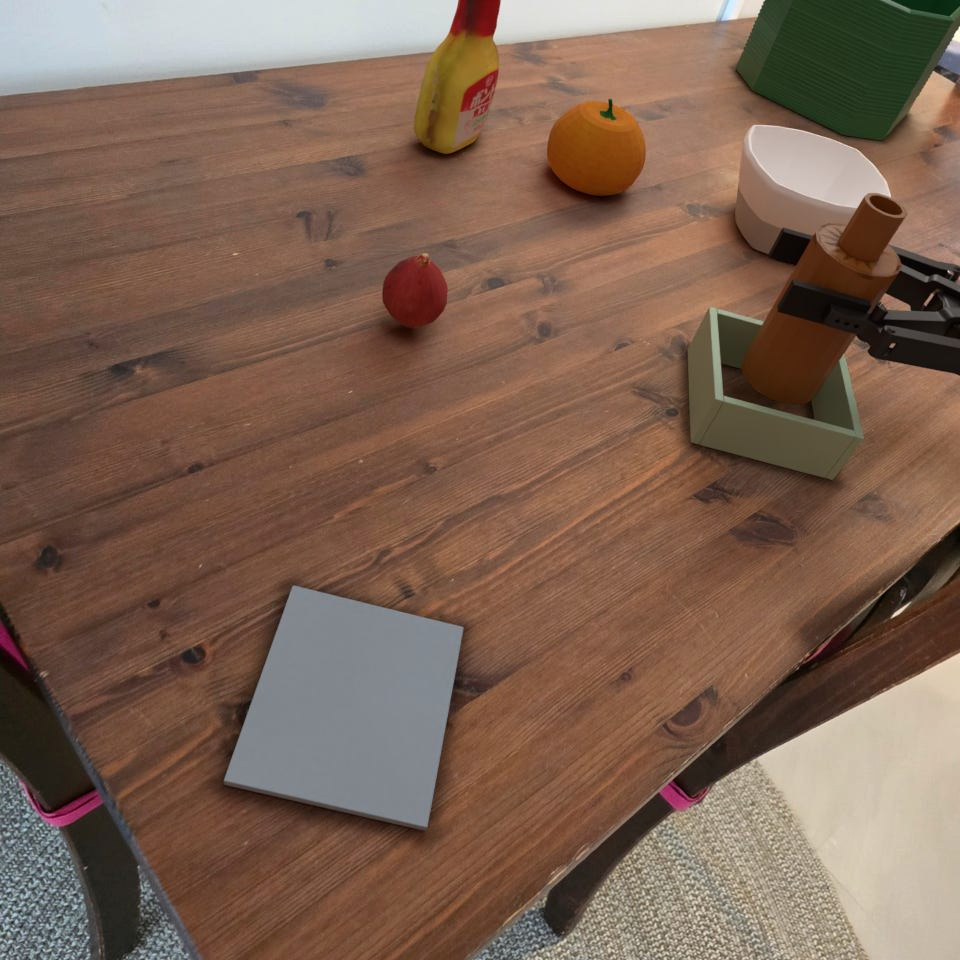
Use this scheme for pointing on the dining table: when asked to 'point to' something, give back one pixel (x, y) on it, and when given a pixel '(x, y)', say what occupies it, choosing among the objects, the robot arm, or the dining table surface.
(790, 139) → the bowl
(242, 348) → the dining table surface
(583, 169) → the fruit
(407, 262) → the onion
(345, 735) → the mat
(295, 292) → the dining table surface
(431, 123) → the bottle
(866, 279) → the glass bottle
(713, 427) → the bin
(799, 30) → the planter
